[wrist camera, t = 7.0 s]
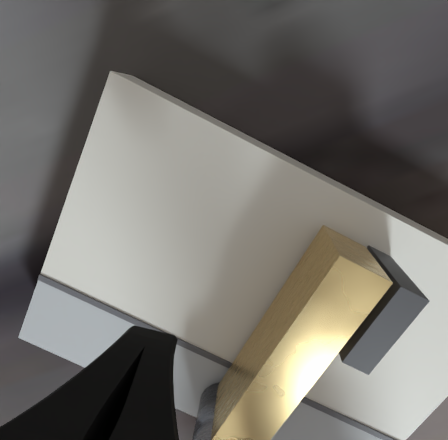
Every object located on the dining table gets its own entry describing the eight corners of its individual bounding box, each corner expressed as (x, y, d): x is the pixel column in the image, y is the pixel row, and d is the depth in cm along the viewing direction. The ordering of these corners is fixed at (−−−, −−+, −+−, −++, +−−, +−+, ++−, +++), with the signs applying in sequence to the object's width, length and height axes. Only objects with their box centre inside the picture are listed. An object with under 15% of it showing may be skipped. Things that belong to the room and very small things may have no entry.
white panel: (504, 268, 17) (628, 351, 11) (346, 447, 22) (378, 570, 16) (132, 75, 16) (62, 60, 10) (45, 310, 20) (-36, 391, 15)
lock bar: (238, 433, 18) (234, 499, 15) (190, 411, 18) (177, 473, 15) (372, 249, 14) (403, 288, 11) (313, 218, 14) (329, 250, 11)
